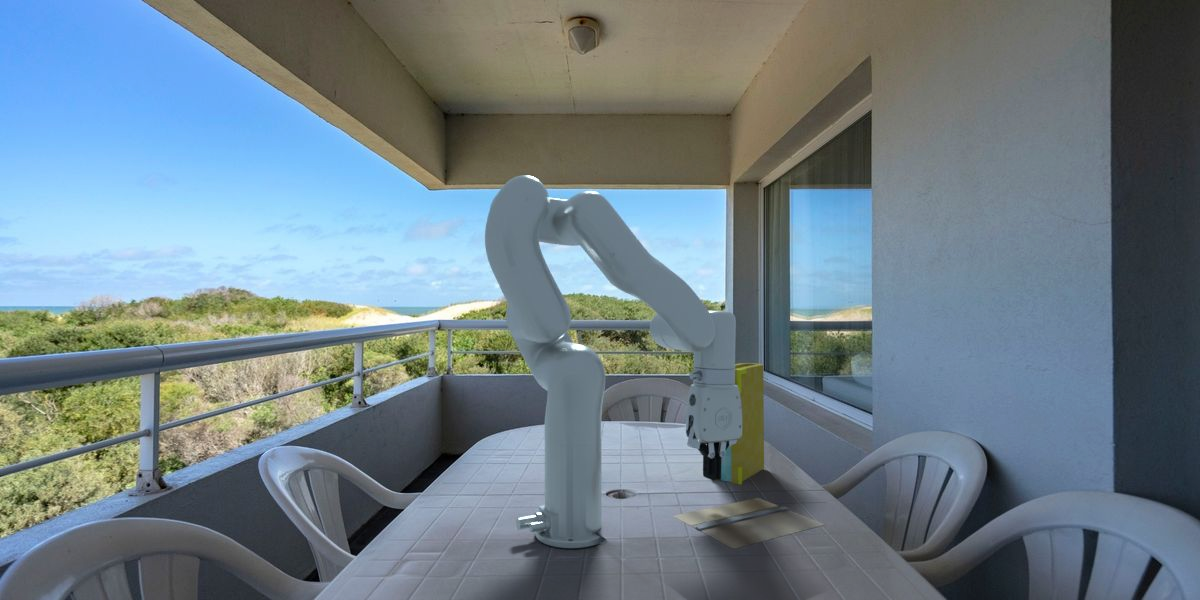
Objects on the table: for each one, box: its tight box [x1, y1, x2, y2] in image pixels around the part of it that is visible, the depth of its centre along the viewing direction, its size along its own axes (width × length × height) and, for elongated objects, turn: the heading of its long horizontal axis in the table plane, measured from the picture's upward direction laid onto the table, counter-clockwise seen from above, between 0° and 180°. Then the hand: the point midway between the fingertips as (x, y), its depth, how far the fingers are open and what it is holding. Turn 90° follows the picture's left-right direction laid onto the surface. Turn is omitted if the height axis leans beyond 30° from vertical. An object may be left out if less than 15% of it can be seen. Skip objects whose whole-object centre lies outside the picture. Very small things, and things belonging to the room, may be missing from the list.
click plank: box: [672, 497, 779, 527], centre depth 102 cm, size 20×10×2 cm, turn 118°
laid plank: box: [691, 505, 826, 550], centre depth 93 cm, size 20×10×2 cm, turn 118°
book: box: [715, 362, 765, 485], centre depth 124 cm, size 17×7×25 cm, turn 143°
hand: (711, 477), depth 102 cm, fingers closed
